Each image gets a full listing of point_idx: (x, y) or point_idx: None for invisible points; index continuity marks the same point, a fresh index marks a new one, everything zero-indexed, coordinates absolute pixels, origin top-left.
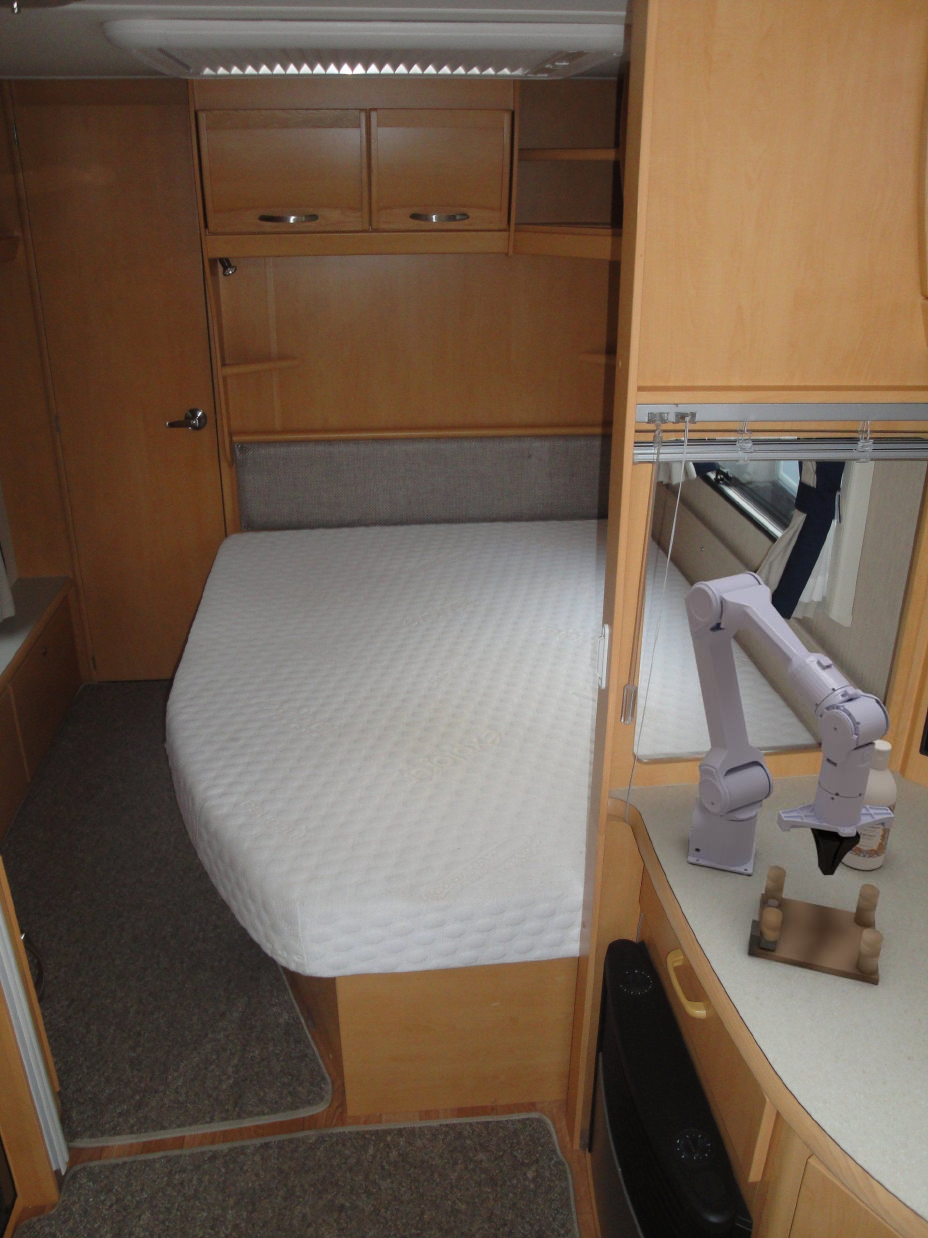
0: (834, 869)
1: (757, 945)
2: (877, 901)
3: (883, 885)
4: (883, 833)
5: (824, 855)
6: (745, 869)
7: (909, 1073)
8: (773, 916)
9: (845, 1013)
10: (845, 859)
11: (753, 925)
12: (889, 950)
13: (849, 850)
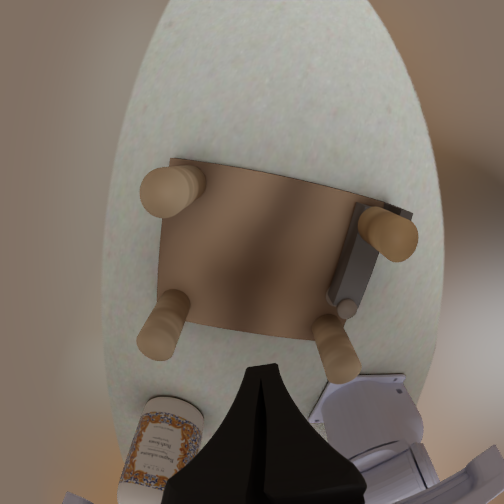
0: (248, 381)
1: None
2: (144, 325)
3: (144, 374)
4: (137, 443)
5: (305, 421)
6: None
7: (179, 3)
8: (402, 230)
9: (248, 82)
10: (191, 410)
11: None
12: (141, 248)
13: (206, 448)
